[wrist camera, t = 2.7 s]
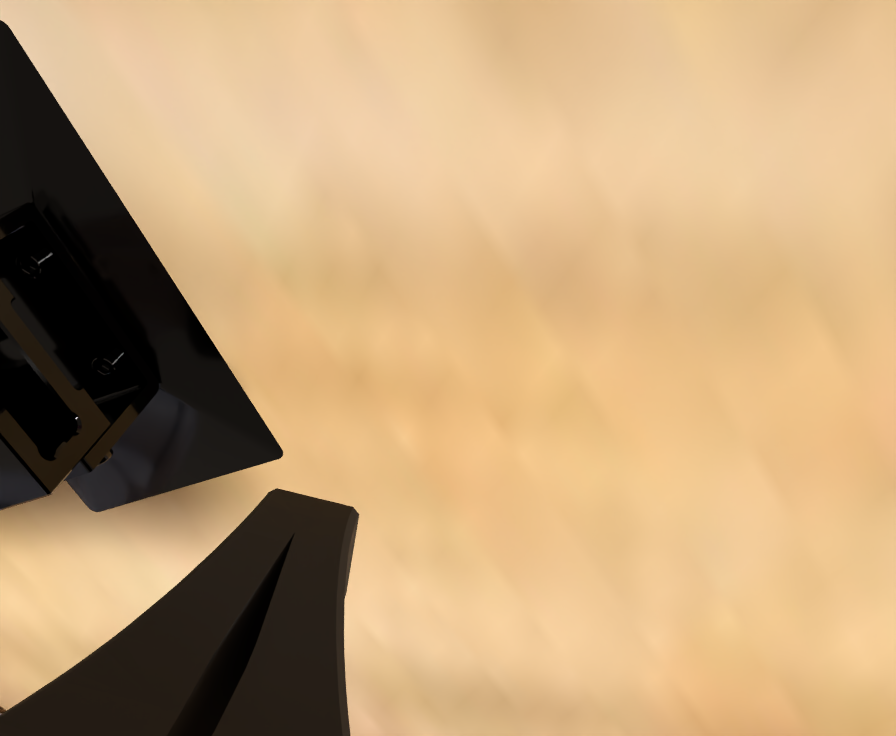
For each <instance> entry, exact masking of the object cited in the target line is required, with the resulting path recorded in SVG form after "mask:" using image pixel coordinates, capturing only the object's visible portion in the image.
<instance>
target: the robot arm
mask: <svg viewBox="0 0 896 736" xmlns="http://www.w3.org/2000/svg"><path fill="white" fill-rule="evenodd" d="M358 518H359V514H358V512H357V511H356V510H355V509H354V507H351V506H347V505H343V504H339V503H335V502H330V501H326V500H322V499H318V498H314V497H310V496H306V495H302V494H298V493H294V492H290V491H285V490H281V489H274V490H272V491H270V492H269V493H268V494H267V495H266V496H265V498H264V499H263V500H262V501H261V502H260V503H259V504H258V506H257V507H256V508H255V509H254V510H253V511H252V512H251V513H250V514H249V515H248V516H247V518H246V519H245V520H244V521H243V522H242V523H241V524H240V525H239V526H238V527H237V528H236V529H235V530H234V531H233V532H232V533H231V534H230V535H229V536H228V537H227V538H226V539H225V540H224V541H223V542H222V543H221V544H220V545H219V546H218V547H217V548H216V549H215V550H214V551H213V552H212V553H211V554H210V555H209V556H207V557H206V558H205V559H204V560H203V561H202V562H201V563H200V564H199V565H198V566H197V567H196V568H195V569H194V570H192V571H191V572H190V573H189V574H188V575H187V576H186V577H185V578H184V579H183V580H182V581H181V582H179V583H178V584H177V585H176V586H175V587H174V588H173V589H172V590H170V591H169V592H168V593H167V594H166V595H164V596H163V597H162V598H161V599H160V600H158V601H157V602H156V603H155V604H154V605H152V606H151V607H150V608H149V609H148V610H146V611H145V612H144V613H143V614H142V615H140V616H139V617H138V618H137V619H136V620H134V621H133V622H132V623H131V624H130V625H128V626H127V627H126V628H125V629H123V630H122V631H121V632H119V633H118V634H117V635H116V636H114V637H113V638H112V639H110V640H109V641H108V642H106V643H105V644H104V645H102V646H101V647H100V648H98V649H97V650H96V651H94V652H93V653H92V654H90V655H89V656H87V657H86V658H85V659H83V660H82V661H80V662H79V663H78V664H76V665H75V666H74V667H72V668H71V669H69V670H68V671H66V672H65V673H64V674H62V675H61V676H59V677H58V678H56V679H55V680H53V681H52V682H50V683H49V684H47V685H46V686H44V687H42V688H41V689H39V690H38V691H36V692H35V693H33V694H32V695H30V696H29V697H27V698H26V699H24V700H23V701H21V702H20V703H18V704H17V705H15V706H14V707H12V708H10V709H9V710H7V711H6V712H4V713H2V714H1V713H0V736H350V728H349V719H348V708H347V695H346V681H345V660H344V599H345V595H346V591H347V585H348V579H349V573H350V567H351V561H352V555H353V549H354V542H355V536H356V530H357V524H358Z"/></svg>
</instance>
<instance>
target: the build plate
mask: <svg viewBox="0 0 896 736" xmlns="http://www.w3.org/2000/svg"><path fill="white" fill-rule="evenodd" d="M282 456H283V451H282V449H281V447H280V446H279V444H278V443H277V441H276V439H275V438H274V436H273V435H272V433H271V432H270V430H269V429H268V427H267V426H266V424H265V422H264V421H263V419H262V418H261V416H260V415H259V413H258V412H257V410H256V409H255V407H254V405H253V404H252V402H251V401H250V399H249V398H248V396H247V395H246V393H245V392H244V390H243V388H242V387H241V385H240V384H239V382H238V381H237V379H236V378H235V376H234V374H233V373H232V371H231V370H230V368H229V367H228V365H227V364H226V362H225V361H224V359H223V357H222V356H221V354H220V353H219V351H218V350H217V348H216V347H215V345H214V344H213V342H212V340H211V339H210V337H209V336H208V334H207V333H206V331H205V330H204V328H203V327H202V325H201V323H200V322H199V320H198V319H197V317H196V316H195V314H194V313H193V311H192V309H191V308H190V306H189V305H188V303H187V302H186V300H185V299H184V297H183V296H182V294H181V292H180V291H179V289H178V288H177V286H176V285H175V283H174V282H173V280H172V279H171V277H170V275H169V274H168V272H167V271H166V269H165V268H164V266H163V265H162V263H161V262H160V260H159V258H158V257H157V255H156V254H155V252H154V251H153V249H152V248H151V246H150V244H149V243H148V241H147V240H146V238H145V237H144V235H143V234H142V232H141V231H140V229H139V227H138V226H137V224H136V223H135V221H134V220H133V218H132V217H131V215H130V214H129V212H128V210H127V209H126V207H125V206H124V204H123V203H122V201H121V200H120V198H119V196H118V195H117V193H116V192H115V190H114V189H113V187H112V186H111V184H110V183H109V181H108V179H107V178H106V176H105V175H104V173H103V172H102V170H101V169H100V167H99V166H98V164H97V162H96V161H95V159H94V158H93V156H92V155H91V153H90V152H89V150H88V149H87V147H86V145H85V144H84V142H83V141H82V139H81V138H80V136H79V135H78V133H77V131H76V130H75V128H74V127H73V125H72V124H71V122H70V121H69V119H68V118H67V116H66V114H65V113H64V111H63V110H62V108H61V107H60V105H59V104H58V102H57V101H56V99H55V97H54V96H53V94H52V93H51V91H50V90H49V88H48V87H47V85H46V84H45V82H44V80H43V79H42V77H41V76H40V74H39V73H38V71H37V70H36V68H35V66H34V65H33V63H32V62H31V60H30V59H29V57H28V56H27V54H26V53H25V51H24V49H23V48H22V46H21V45H20V43H19V42H18V40H17V39H16V37H15V36H14V34H13V32H12V31H11V29H10V28H9V27H8V25H7V24H6V23H4V22H3V21H1V20H0V510H3V509H6V508H10V507H13V506H16V505H19V504H23V503H26V502H29V501H33V500H36V499H39V498H43V497H46V496H49V495H51V494H52V493H53V492H54V491H55V490H56V489H57V487H58V486H59V485H60V484H61V483H62V482H63V481H65V480H66V481H67V482H68V484H69V485H70V486H71V487H72V488H73V490H74V491H75V492H76V493H77V495H78V496H79V497H80V498H81V499H82V501H83V502H84V503H85V504H86V505H87V507H88V508H89V509H91V510H92V511H95V512H100V511H104V510H107V509H110V508H114V507H117V506H121V505H124V504H127V503H131V502H134V501H138V500H141V499H144V498H148V497H151V496H155V495H158V494H161V493H165V492H168V491H172V490H175V489H178V488H182V487H185V486H189V485H192V484H195V483H199V482H202V481H205V480H209V479H212V478H216V477H219V476H222V475H226V474H229V473H233V472H236V471H239V470H243V469H246V468H250V467H253V466H256V465H260V464H263V463H267V462H270V461H273V460H277V459H280V458H281V457H282Z"/></svg>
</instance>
